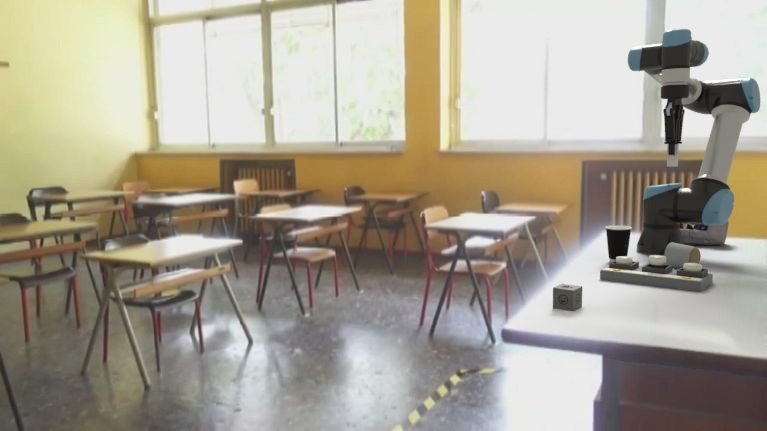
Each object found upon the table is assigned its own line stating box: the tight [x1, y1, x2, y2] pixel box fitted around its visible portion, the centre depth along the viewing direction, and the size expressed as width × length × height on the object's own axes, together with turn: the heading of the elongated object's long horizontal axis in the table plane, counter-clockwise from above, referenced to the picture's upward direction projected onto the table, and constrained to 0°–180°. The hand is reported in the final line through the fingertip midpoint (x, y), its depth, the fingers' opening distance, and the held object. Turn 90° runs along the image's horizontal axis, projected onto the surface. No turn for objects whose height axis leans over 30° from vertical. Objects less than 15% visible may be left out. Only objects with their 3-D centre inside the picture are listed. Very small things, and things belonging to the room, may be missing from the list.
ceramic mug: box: [663, 242, 701, 270], centre depth 191 cm, size 11×8×8 cm
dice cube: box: [552, 283, 583, 313], centre depth 150 cm, size 5×5×5 cm
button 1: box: [616, 255, 634, 265], centre depth 182 cm, size 4×4×2 cm
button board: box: [599, 260, 714, 292], centre depth 176 cm, size 12×26×4 cm, turn 51°
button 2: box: [683, 263, 703, 273], centre depth 171 cm, size 4×4×2 cm
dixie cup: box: [605, 225, 633, 263], centre depth 204 cm, size 8×8×11 cm
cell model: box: [680, 219, 729, 246], centre depth 234 cm, size 13×11×20 cm
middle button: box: [648, 255, 666, 265], centre depth 177 cm, size 4×4×2 cm
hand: (672, 166), depth 189 cm, fingers closed
